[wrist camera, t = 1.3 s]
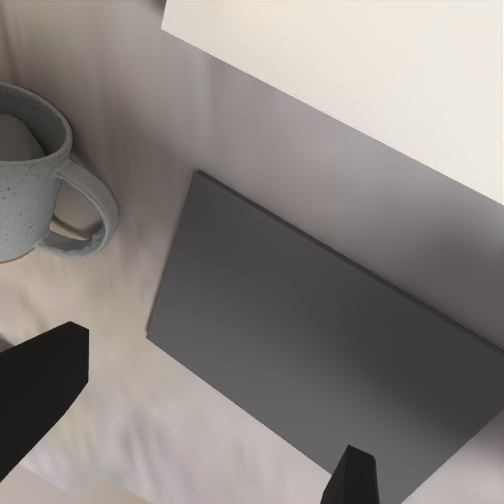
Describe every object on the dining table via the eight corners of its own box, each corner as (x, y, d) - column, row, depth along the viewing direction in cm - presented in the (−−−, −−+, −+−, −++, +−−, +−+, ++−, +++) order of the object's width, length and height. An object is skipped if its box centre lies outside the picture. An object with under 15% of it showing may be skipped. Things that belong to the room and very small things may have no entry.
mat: (536, 371, 18) (536, 377, 18) (389, 509, 25) (387, 515, 24) (199, 170, 22) (194, 172, 22) (150, 334, 29) (145, 337, 28)
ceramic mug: (-7, 180, 31) (-137, 216, 24) (6, 67, 26) (-150, 76, 20) (108, 275, 29) (0, 340, 23) (145, 172, 24) (20, 218, 18)
